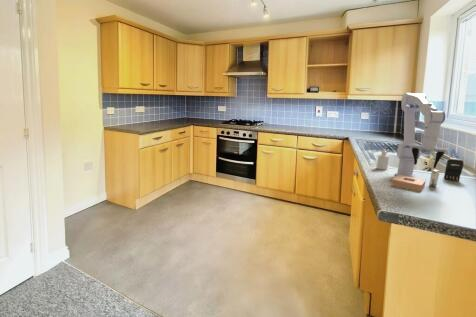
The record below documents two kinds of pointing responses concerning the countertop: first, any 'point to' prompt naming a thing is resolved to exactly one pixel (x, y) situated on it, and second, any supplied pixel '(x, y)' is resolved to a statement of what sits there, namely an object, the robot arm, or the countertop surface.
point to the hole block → (408, 182)
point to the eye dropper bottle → (382, 161)
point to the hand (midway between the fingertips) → (424, 165)
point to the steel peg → (434, 178)
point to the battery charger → (453, 169)
